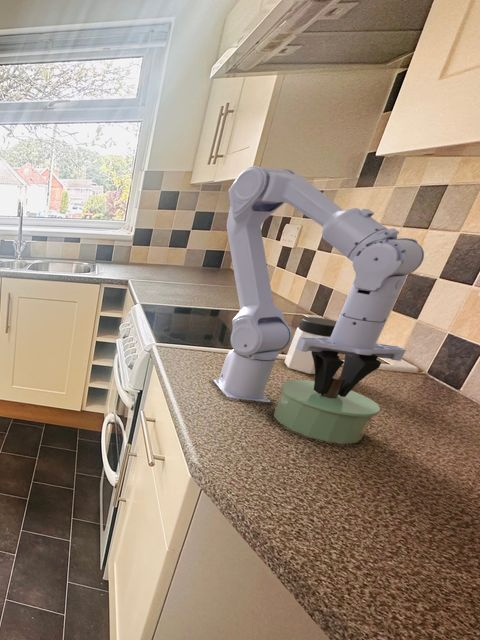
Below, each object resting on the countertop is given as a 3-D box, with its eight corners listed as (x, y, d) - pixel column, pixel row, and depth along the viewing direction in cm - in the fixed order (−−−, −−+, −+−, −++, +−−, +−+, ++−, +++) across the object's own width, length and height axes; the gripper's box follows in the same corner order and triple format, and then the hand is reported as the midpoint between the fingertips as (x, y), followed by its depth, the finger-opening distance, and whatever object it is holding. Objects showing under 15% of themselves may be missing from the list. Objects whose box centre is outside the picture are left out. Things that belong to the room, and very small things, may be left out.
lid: (266, 381, 81) (275, 359, 79) (346, 390, 78) (356, 367, 76) (302, 413, 68) (313, 388, 67) (398, 425, 66) (412, 399, 64)
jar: (307, 362, 108) (325, 317, 103) (335, 374, 100) (356, 326, 95) (275, 362, 107) (292, 316, 102) (301, 374, 99) (321, 326, 94)
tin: (261, 407, 82) (271, 379, 80) (333, 415, 80) (346, 387, 78) (292, 439, 71) (305, 409, 69) (377, 450, 69) (393, 419, 66)
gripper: (325, 319, 65) (294, 397, 70) (434, 328, 62) (393, 408, 68) (302, 308, 71) (275, 381, 77) (401, 316, 69) (365, 391, 74)
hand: (329, 393), depth 73 cm, fingers open, 3 cm apart
